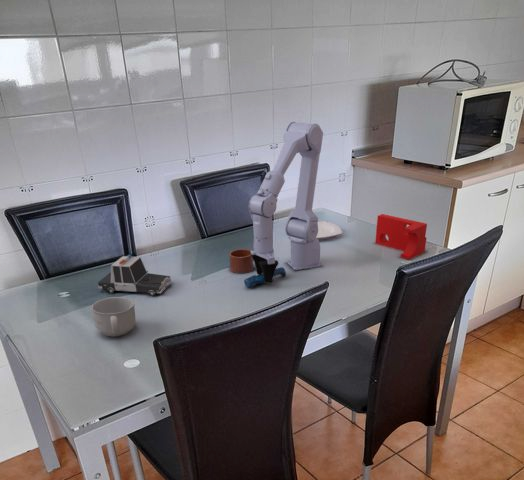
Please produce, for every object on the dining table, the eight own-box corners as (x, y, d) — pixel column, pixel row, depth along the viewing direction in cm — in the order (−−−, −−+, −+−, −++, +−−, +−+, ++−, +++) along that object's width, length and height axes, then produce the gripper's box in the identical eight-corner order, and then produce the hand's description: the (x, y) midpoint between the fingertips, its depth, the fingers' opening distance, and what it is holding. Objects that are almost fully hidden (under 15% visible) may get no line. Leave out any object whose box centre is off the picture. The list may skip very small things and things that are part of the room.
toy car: (160, 297, 151) (155, 265, 146) (98, 293, 156) (91, 262, 150) (172, 283, 160) (168, 253, 155) (113, 280, 164) (107, 251, 159)
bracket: (428, 222, 170) (412, 230, 164) (424, 251, 176) (408, 259, 170) (383, 213, 182) (367, 219, 176) (381, 240, 187) (365, 247, 181)
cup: (249, 263, 172) (248, 247, 170) (256, 271, 166) (255, 255, 163) (227, 266, 170) (226, 251, 168) (234, 274, 164) (232, 258, 161)
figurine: (280, 276, 163) (243, 290, 156) (277, 265, 162) (240, 279, 155) (289, 276, 159) (251, 291, 152) (286, 264, 158) (248, 279, 151)
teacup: (101, 322, 138) (95, 296, 134) (141, 320, 139) (136, 293, 135) (91, 348, 127) (84, 320, 122) (134, 345, 127) (129, 317, 123)
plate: (284, 229, 202) (284, 224, 201) (330, 224, 205) (330, 219, 204) (299, 244, 186) (299, 239, 185) (348, 239, 189) (348, 233, 188)
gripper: (243, 230, 155) (245, 271, 162) (258, 245, 143) (259, 288, 150) (264, 227, 157) (266, 268, 164) (281, 242, 145) (281, 285, 152)
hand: (264, 278), depth 157 cm, fingers open, 7 cm apart
